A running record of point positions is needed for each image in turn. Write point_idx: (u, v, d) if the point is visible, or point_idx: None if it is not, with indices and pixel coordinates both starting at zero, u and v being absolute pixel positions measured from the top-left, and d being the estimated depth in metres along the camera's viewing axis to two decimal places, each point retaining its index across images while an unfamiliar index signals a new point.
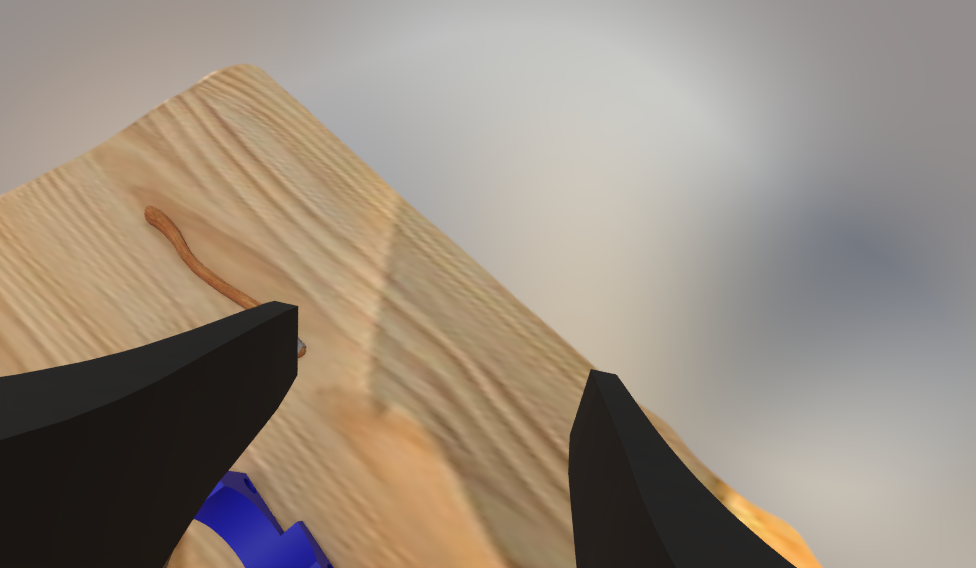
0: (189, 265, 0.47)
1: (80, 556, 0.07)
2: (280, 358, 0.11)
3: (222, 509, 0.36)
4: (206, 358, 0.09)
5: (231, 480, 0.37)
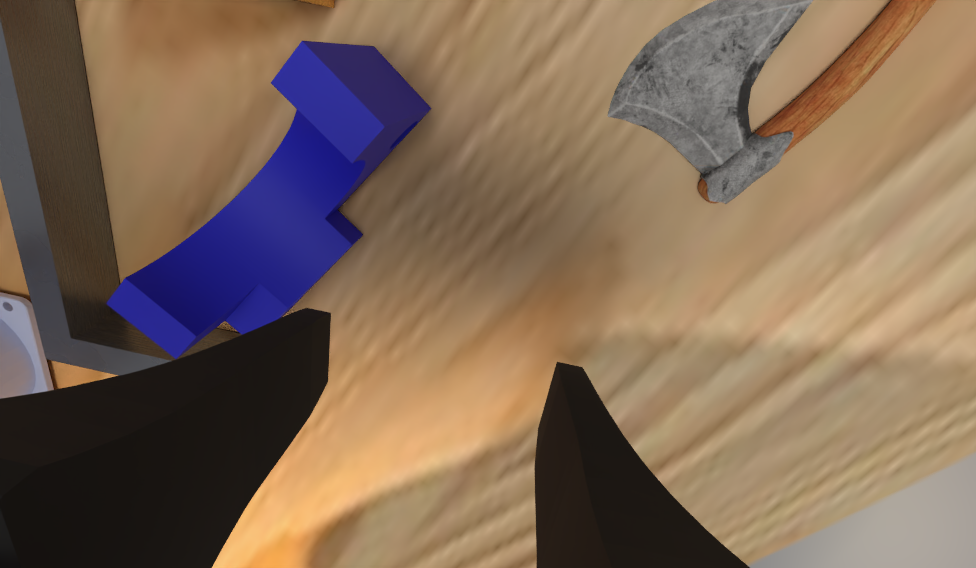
0: None
1: None
2: (314, 365, 0.11)
3: None
4: (250, 367, 0.09)
5: (385, 139, 0.16)
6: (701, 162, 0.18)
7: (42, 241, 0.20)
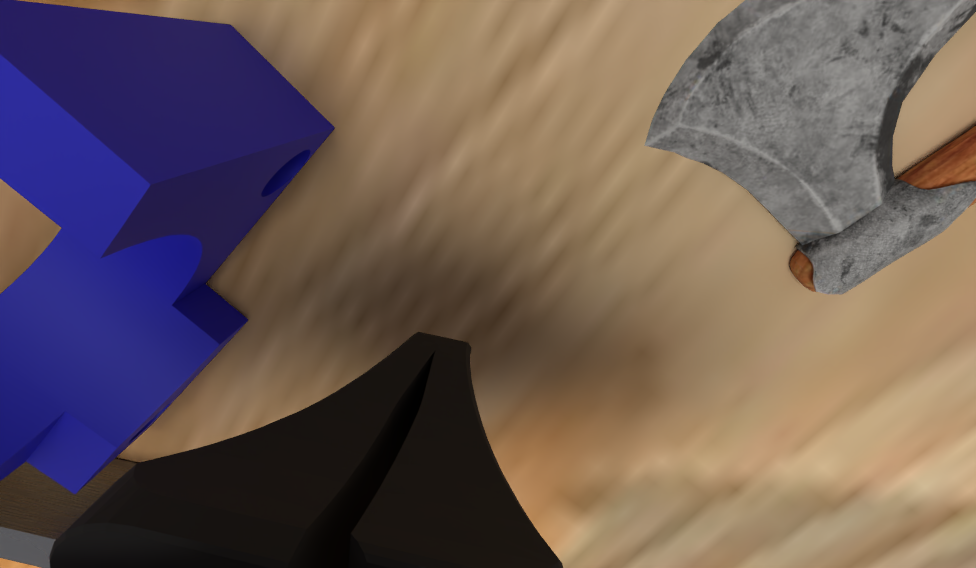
0: None
1: None
2: None
3: None
4: (401, 400, 0.09)
5: (210, 195, 0.08)
6: (802, 225, 0.11)
7: None
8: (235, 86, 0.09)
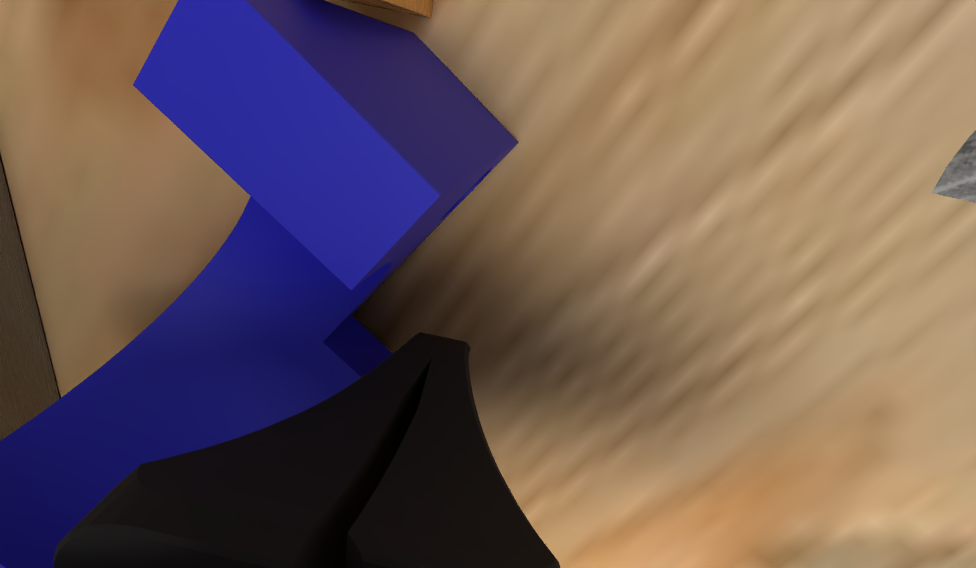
0: None
1: None
2: None
3: None
4: (402, 401, 0.09)
5: (435, 215, 0.07)
6: None
7: None
8: (442, 92, 0.08)
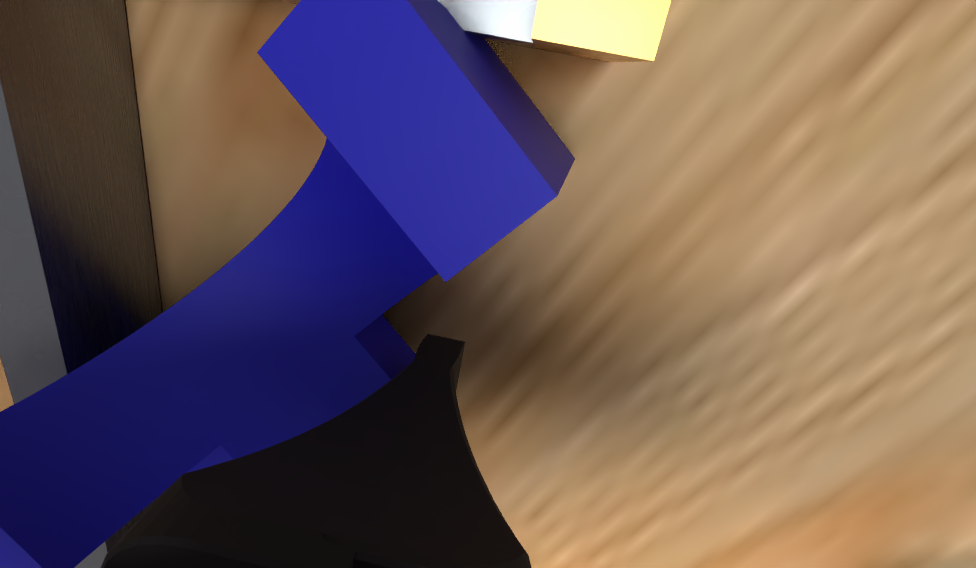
0: None
1: None
2: None
3: None
4: (429, 407, 0.09)
5: None
6: None
7: None
8: (520, 100, 0.08)
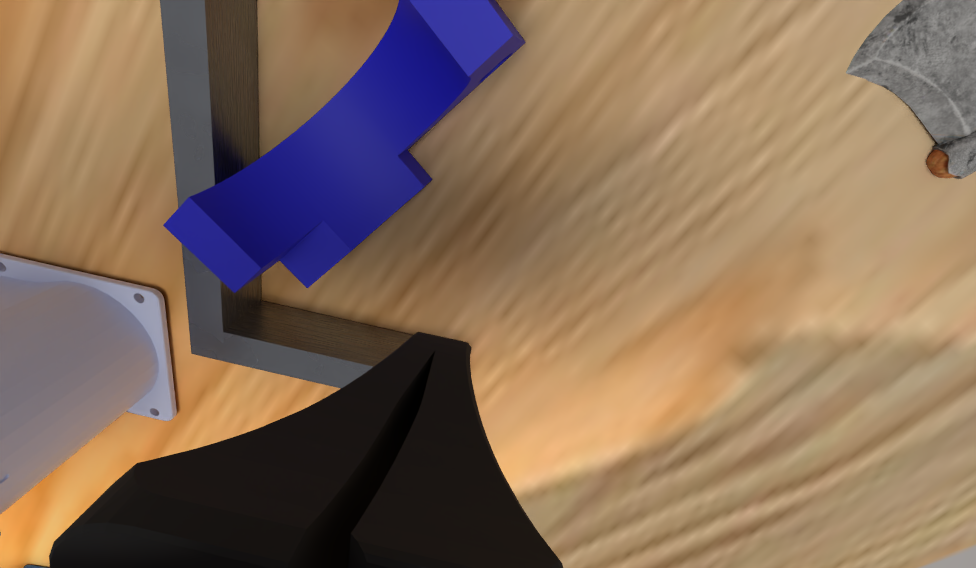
0: None
1: None
2: None
3: (430, 44, 0.15)
4: (400, 400, 0.09)
5: (493, 60, 0.15)
6: (942, 130, 0.17)
7: None
8: (494, 2, 0.15)
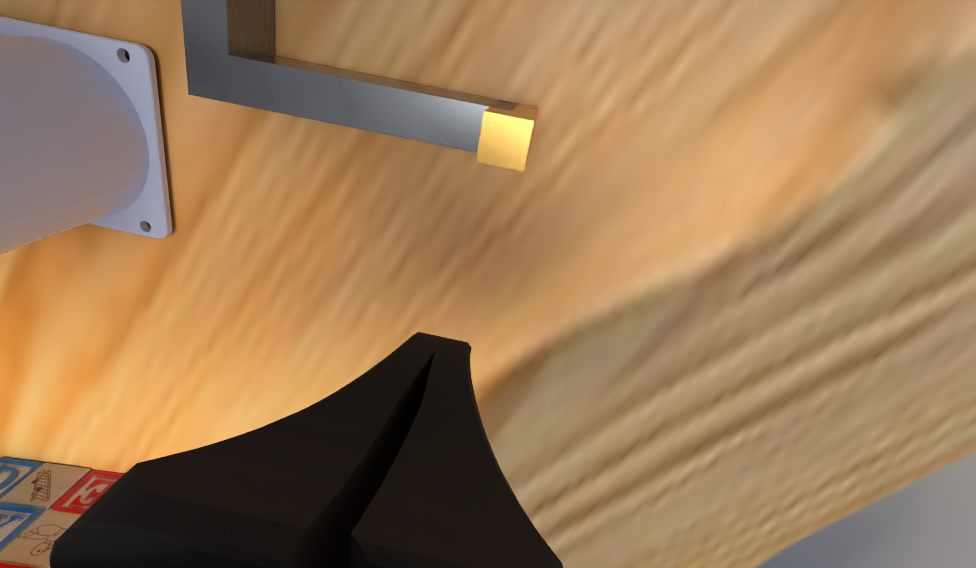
0: None
1: None
2: None
3: None
4: (401, 400, 0.09)
5: None
6: None
7: None
8: None
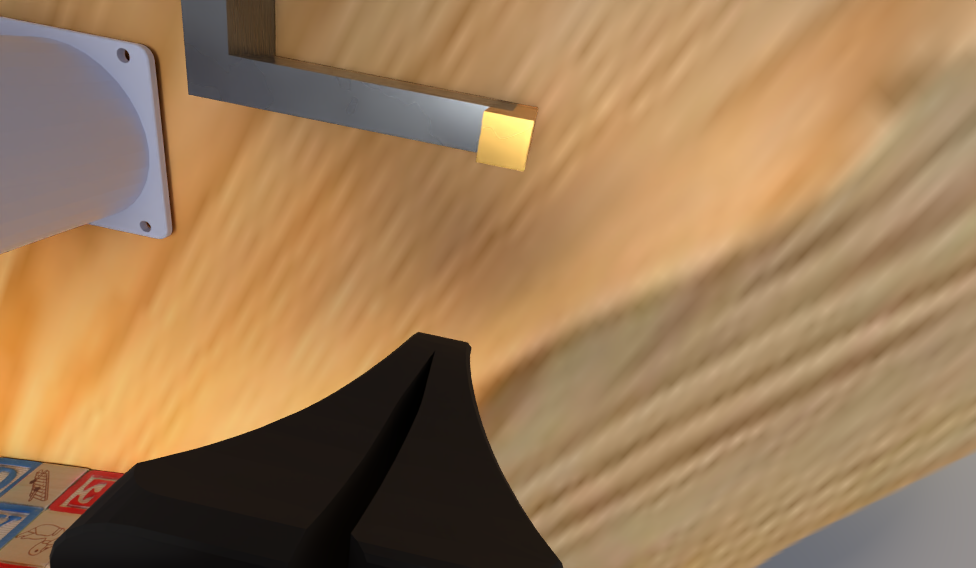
0: None
1: None
2: None
3: None
4: (401, 400, 0.09)
5: None
6: None
7: None
8: None
